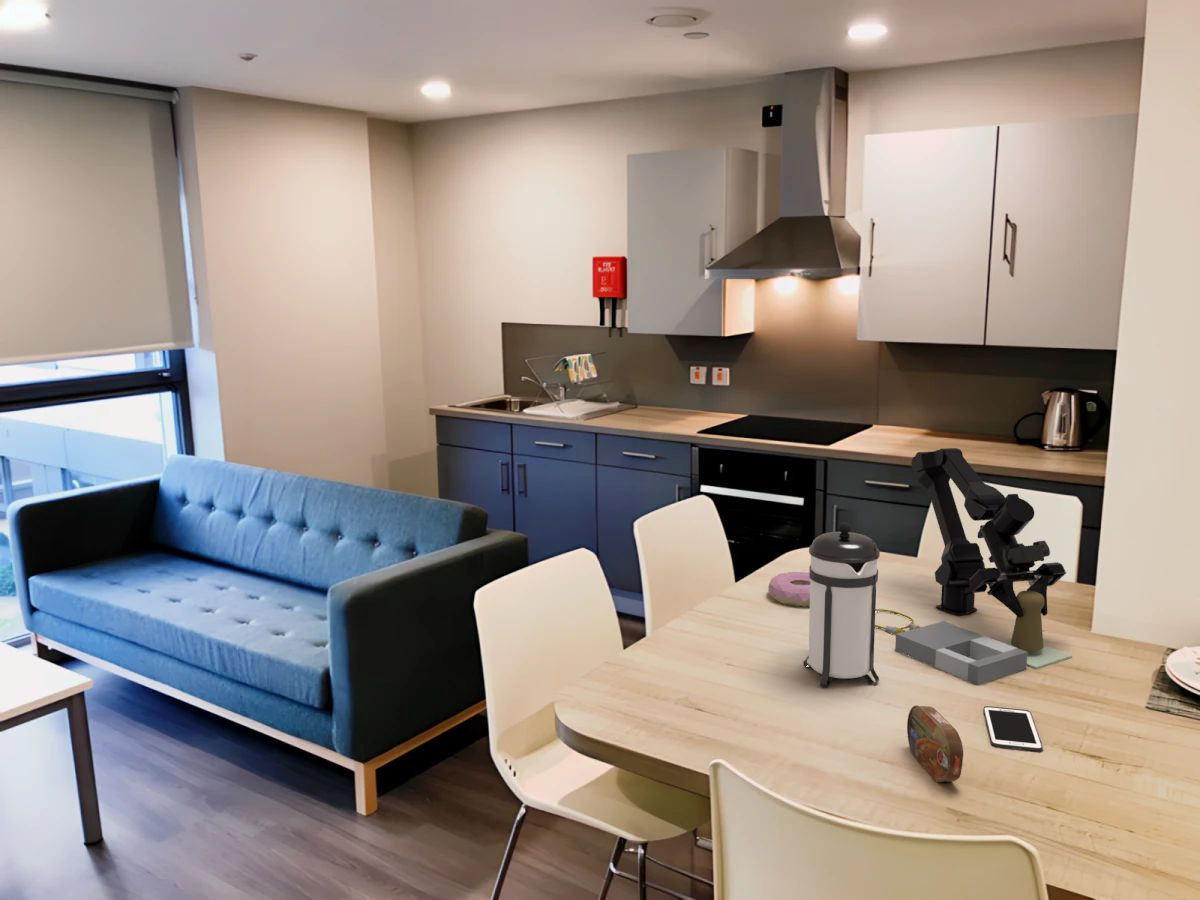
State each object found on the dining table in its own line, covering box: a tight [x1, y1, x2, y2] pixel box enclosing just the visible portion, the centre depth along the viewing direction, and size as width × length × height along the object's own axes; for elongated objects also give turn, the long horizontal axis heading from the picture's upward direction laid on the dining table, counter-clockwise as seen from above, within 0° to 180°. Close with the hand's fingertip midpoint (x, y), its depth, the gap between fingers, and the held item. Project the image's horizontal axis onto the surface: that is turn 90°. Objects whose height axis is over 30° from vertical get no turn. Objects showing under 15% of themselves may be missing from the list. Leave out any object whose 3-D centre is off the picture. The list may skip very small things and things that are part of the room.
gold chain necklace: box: [875, 608, 921, 636], centre depth 212 cm, size 12×16×2 cm
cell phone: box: [982, 705, 1044, 753], centre depth 163 cm, size 8×15×1 cm, turn 164°
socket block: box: [894, 620, 1028, 686], centre depth 192 cm, size 20×14×4 cm
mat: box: [1001, 639, 1073, 670], centre depth 195 cm, size 12×11×1 cm
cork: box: [1010, 590, 1045, 651], centre depth 194 cm, size 6×6×11 cm
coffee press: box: [803, 521, 881, 688], centre depth 184 cm, size 17×16×30 cm
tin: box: [906, 705, 964, 783], centre depth 150 cm, size 15×3×8 cm, turn 5°
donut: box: [768, 571, 810, 607], centre depth 230 cm, size 16×15×5 cm
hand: (1033, 615), depth 192 cm, fingers closed on cork, 5 cm apart
